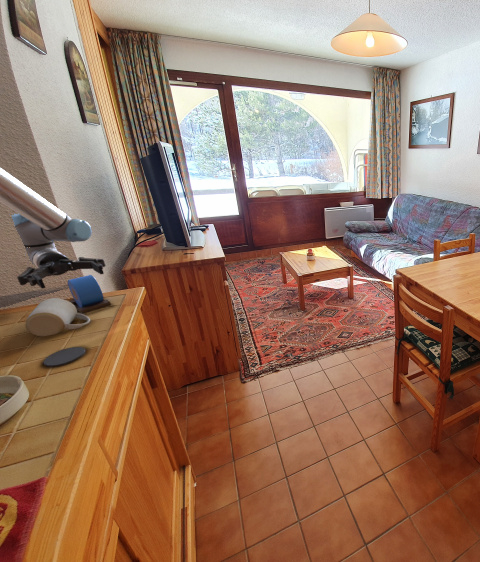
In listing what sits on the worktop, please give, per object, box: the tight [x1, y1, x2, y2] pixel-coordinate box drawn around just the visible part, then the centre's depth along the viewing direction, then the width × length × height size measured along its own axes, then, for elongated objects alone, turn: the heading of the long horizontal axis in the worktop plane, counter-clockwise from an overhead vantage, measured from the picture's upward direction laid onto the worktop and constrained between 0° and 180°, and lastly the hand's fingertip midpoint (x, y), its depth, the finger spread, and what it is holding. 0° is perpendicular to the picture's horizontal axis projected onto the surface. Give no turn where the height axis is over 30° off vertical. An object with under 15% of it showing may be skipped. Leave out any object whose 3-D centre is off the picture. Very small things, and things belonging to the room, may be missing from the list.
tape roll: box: [67, 274, 105, 307], centre depth 90 cm, size 5×8×8 cm, turn 56°
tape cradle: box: [68, 298, 112, 314], centre depth 91 cm, size 11×7×2 cm, turn 56°
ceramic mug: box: [25, 297, 91, 337], centre depth 79 cm, size 11×8×8 cm
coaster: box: [43, 346, 86, 368], centre depth 69 cm, size 7×7×1 cm
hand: (73, 276), depth 93 cm, fingers open, 13 cm apart
